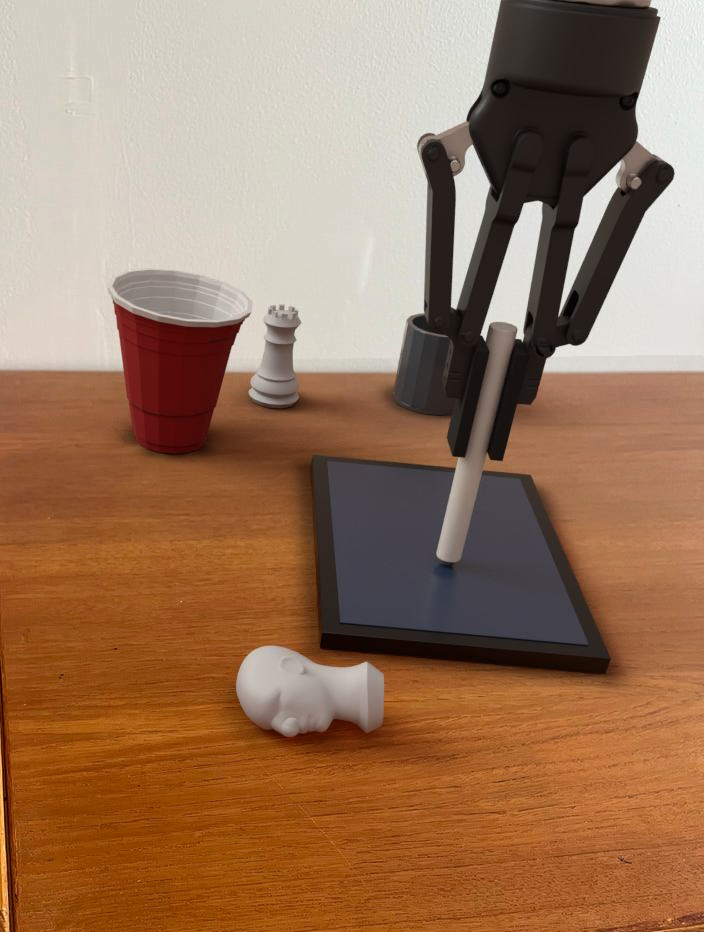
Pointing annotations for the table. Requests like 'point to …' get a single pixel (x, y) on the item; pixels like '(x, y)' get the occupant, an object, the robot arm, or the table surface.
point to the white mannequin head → (307, 692)
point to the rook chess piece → (277, 361)
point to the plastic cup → (174, 351)
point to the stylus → (476, 445)
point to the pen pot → (422, 369)
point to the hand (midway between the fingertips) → (474, 448)
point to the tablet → (444, 570)
